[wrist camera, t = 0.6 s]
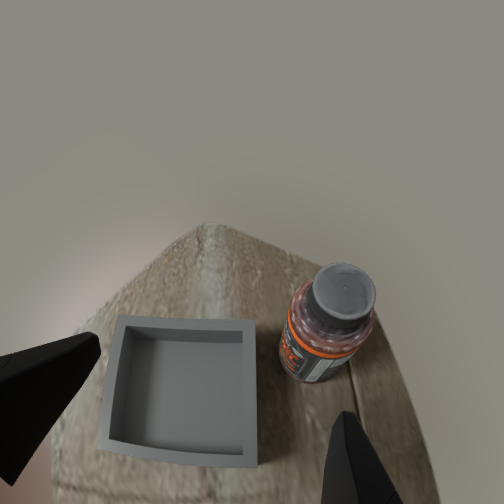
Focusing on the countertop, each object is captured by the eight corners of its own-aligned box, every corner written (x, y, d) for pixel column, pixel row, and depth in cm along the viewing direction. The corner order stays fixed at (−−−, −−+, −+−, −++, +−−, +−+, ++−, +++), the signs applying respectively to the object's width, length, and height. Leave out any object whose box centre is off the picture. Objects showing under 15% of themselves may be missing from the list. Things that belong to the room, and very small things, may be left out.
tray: (256, 465, 18) (257, 467, 15) (114, 450, 18) (96, 447, 15) (254, 336, 26) (255, 319, 23) (130, 331, 26) (118, 314, 23)
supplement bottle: (267, 337, 26) (279, 260, 17) (324, 318, 27) (360, 239, 19) (291, 395, 22) (321, 348, 14) (350, 371, 24) (408, 311, 15)
